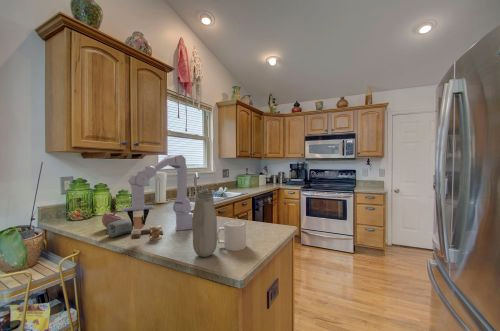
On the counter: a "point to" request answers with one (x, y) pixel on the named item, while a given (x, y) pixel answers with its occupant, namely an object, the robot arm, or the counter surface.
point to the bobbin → (155, 232)
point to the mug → (233, 235)
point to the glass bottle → (204, 224)
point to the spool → (119, 227)
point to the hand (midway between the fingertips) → (138, 225)
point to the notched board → (144, 232)
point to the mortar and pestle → (111, 218)
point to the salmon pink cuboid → (138, 222)
